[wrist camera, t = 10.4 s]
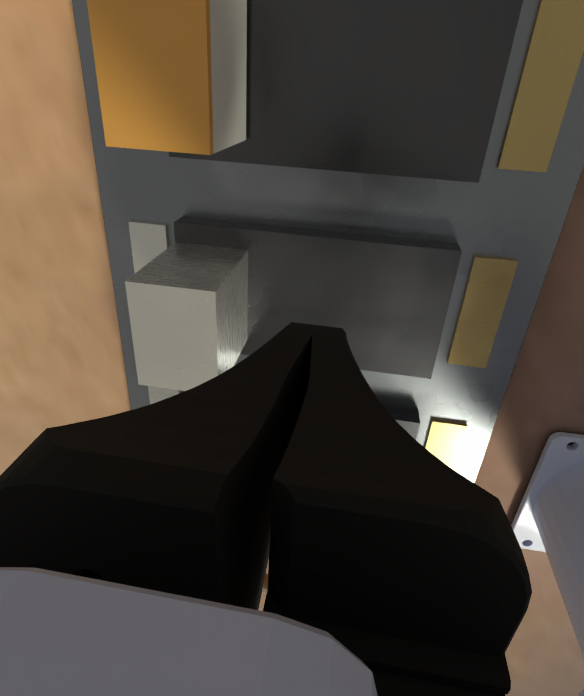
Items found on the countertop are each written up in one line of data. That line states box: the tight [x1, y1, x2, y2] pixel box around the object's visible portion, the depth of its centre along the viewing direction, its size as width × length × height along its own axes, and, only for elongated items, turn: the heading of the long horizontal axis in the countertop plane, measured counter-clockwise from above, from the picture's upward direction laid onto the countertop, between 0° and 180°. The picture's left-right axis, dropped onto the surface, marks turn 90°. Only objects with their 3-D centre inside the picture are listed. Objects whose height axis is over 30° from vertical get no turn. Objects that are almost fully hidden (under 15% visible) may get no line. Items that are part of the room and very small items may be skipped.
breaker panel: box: [72, 0, 584, 483], centre depth 18 cm, size 18×24×6 cm
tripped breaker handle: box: [87, 0, 247, 155], centre depth 14 cm, size 3×4×4 cm
